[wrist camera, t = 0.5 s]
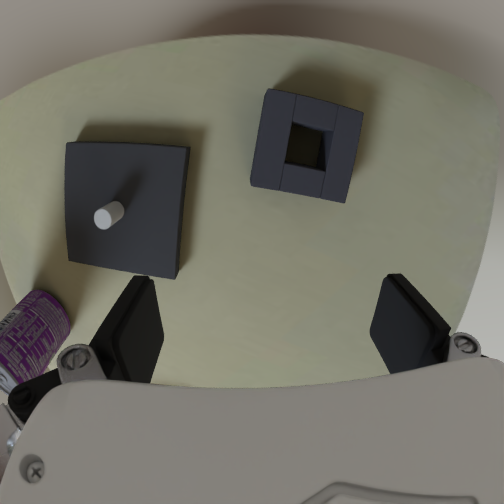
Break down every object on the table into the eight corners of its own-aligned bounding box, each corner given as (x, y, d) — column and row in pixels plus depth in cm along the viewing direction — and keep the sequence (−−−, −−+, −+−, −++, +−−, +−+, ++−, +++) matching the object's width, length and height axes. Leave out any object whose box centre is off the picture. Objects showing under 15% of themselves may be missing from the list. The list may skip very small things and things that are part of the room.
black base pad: (74, 141, 19) (48, 145, 16) (190, 146, 20) (179, 148, 17) (75, 254, 24) (55, 272, 20) (178, 272, 25) (168, 295, 21)
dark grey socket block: (264, 94, 19) (267, 88, 16) (349, 114, 20) (364, 112, 17) (249, 179, 22) (250, 186, 19) (333, 195, 22) (345, 203, 20)
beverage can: (27, 313, 27) (-21, 372, 16) (33, 275, 24) (-29, 335, 13) (68, 344, 28) (27, 412, 17) (78, 309, 26) (25, 384, 15)
